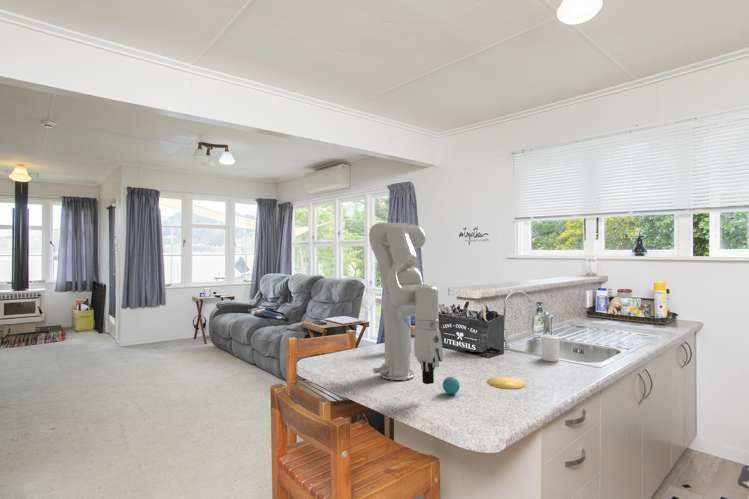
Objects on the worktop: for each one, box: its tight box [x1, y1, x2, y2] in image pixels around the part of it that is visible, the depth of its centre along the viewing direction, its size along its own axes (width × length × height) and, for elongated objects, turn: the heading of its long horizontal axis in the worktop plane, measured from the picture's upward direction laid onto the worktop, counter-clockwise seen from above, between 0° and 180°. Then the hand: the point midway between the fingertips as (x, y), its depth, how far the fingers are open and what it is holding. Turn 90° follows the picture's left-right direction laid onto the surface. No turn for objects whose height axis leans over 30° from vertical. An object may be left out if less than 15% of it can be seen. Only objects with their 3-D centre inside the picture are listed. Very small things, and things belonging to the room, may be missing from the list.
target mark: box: [486, 376, 526, 390], centre depth 147 cm, size 13×13×1 cm
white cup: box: [539, 333, 561, 362], centre depth 178 cm, size 8×8×10 cm
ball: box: [442, 376, 461, 395], centre depth 136 cm, size 6×6×6 cm
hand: (428, 383), depth 131 cm, fingers closed
